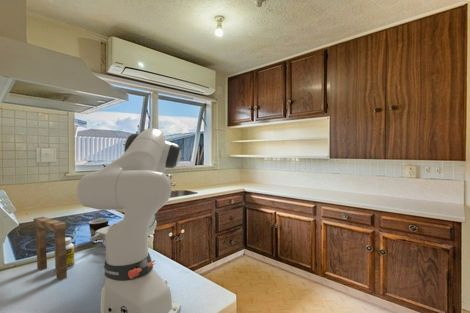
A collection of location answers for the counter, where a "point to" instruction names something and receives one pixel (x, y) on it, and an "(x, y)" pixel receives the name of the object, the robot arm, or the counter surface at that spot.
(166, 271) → the counter surface
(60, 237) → the walnut archway
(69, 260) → the pill bottle
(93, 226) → the coffee mug
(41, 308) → the counter surface
